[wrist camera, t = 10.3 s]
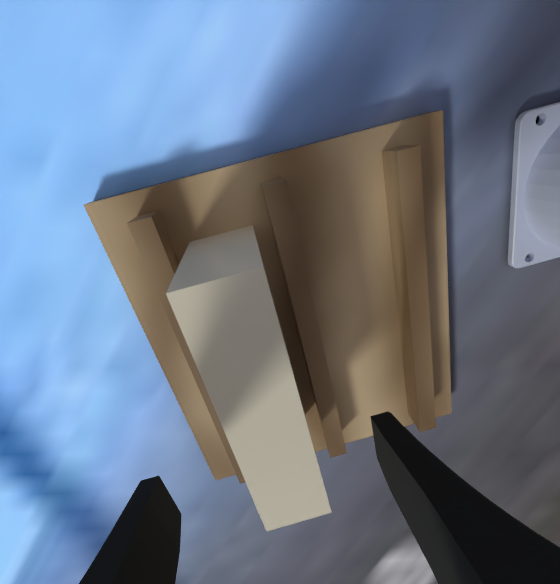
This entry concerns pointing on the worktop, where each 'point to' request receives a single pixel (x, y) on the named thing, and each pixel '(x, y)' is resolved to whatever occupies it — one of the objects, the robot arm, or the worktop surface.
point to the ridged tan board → (311, 275)
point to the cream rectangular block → (249, 373)
